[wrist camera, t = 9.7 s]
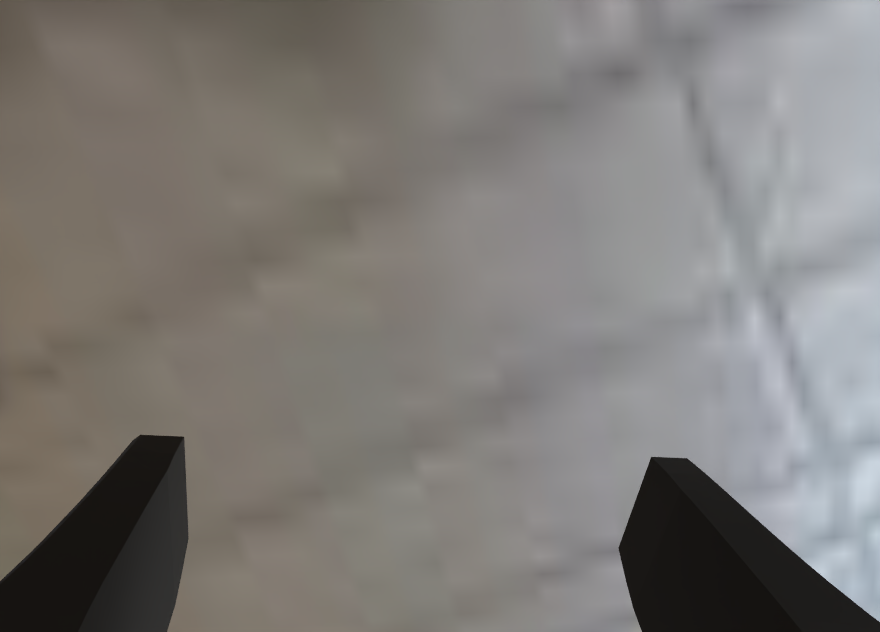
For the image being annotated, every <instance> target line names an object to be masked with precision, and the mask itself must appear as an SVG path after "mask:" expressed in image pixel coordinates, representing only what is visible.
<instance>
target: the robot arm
mask: <svg viewBox="0 0 880 632" xmlns="http://www.w3.org/2000/svg"><path fill="white" fill-rule="evenodd" d="M187 543H188V517H187V494H186V471H185V448H184V437H177V436H154V435H140V436H138V437H137V438H136V439H134V440H133V441H132V442H131V443H130V444H129V446H128V447H127V448H126V449H125V450H124V452H123V453H122V454H121V455H120V456H119V458H118V459H117V460H116V461H115V462H114V463H113V465H112V466H111V467H110V468H109V469H108V470H107V472H106V473H105V474H104V475H103V476H102V477H101V478H100V480H99V481H98V482H97V483H96V484H95V485H94V486H93V487H92V489H91V490H90V491H89V492H88V493H87V494H86V495H85V496H84V497H83V499H82V500H81V501H80V502H79V503H78V504H77V505H76V506H75V507H74V508H73V509H72V510H71V511H70V512H69V513H68V514H67V516H66V517H65V518H64V519H63V520H62V521H61V522H60V523H59V524H58V525H57V526H56V527H55V528H54V529H53V530H52V531H51V532H50V533H49V534H48V535H47V536H46V538H45V539H44V540H43V541H42V542H41V543H40V544H39V545H38V546H37V547H36V548H35V549H34V550H33V551H32V552H31V553H30V554H29V555H28V556H26V557H25V558H24V559H23V560H22V561H21V562H20V563H19V564H18V565H17V566H16V567H15V568H14V569H13V570H12V571H11V572H10V573H9V574H7V575H6V576H5V577H4V578H3V579H2V580H1V581H0V632H167V629H168V626H169V623H170V620H171V616H172V613H173V610H174V607H175V603H176V598H177V593H178V589H179V584H180V579H181V574H182V569H183V564H184V559H185V553H186V548H187ZM619 552H620V556H621V561H622V565H623V569H624V574H625V578H626V582H627V586H628V590H629V593H630V597H631V601H632V605H633V608H634V611H635V614H636V617H637V619H638V622H639V625H640V627H641V630H642V632H880V622H879V621H877V620H876V619H875V618H873V617H872V616H871V615H869V614H868V613H867V612H866V611H864V610H863V609H862V608H861V607H859V606H858V605H857V604H856V603H854V602H853V601H852V600H851V599H849V598H848V597H847V596H846V595H844V594H843V593H842V592H841V591H839V590H838V589H837V588H836V587H834V586H833V585H832V584H831V583H829V582H828V581H827V580H826V579H825V578H823V577H822V576H821V575H820V574H819V573H817V572H816V571H815V570H814V569H813V568H811V567H810V566H809V565H808V564H807V563H806V562H804V561H803V560H802V559H801V558H800V557H799V556H797V555H796V554H795V553H794V552H793V551H792V550H790V549H789V548H788V547H787V546H786V545H785V544H784V543H783V542H781V541H780V540H779V539H778V538H777V537H776V536H775V535H773V534H772V533H771V532H770V531H769V530H768V529H767V528H766V527H764V526H763V525H762V524H761V523H760V522H759V521H758V520H757V519H756V518H754V517H753V516H752V515H751V514H750V513H749V512H748V511H747V510H746V509H744V508H743V507H742V506H741V505H740V504H739V503H738V502H737V501H736V500H734V499H733V498H732V497H731V496H730V495H729V494H728V493H727V492H726V491H724V490H723V489H722V488H721V487H720V486H719V485H718V484H717V483H715V482H714V481H713V480H712V479H711V478H710V477H709V476H708V475H706V474H705V473H704V472H703V471H702V470H701V469H699V468H698V467H697V466H696V465H694V464H693V463H692V462H691V461H690V460H688V459H687V458H664V457H651V459H650V462H649V465H648V468H647V470H646V473H645V476H644V479H643V482H642V484H641V487H640V490H639V493H638V495H637V498H636V501H635V504H634V507H633V509H632V512H631V515H630V518H629V520H628V523H627V526H626V529H625V532H624V534H623V537H622V540H621V543H620V545H619Z"/></svg>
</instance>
